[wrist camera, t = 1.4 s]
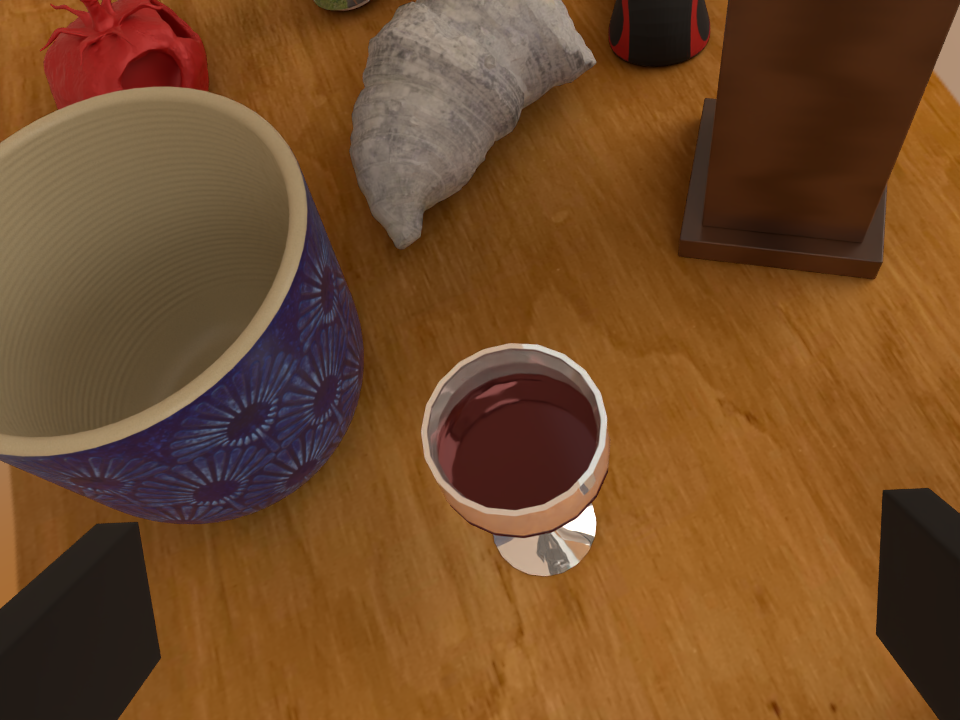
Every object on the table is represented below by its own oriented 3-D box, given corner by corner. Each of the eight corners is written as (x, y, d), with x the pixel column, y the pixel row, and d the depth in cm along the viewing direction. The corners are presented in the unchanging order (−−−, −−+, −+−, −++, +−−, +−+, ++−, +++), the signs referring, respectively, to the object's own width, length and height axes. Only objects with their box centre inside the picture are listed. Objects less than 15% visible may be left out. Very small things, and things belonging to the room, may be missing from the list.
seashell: (399, 278, 49) (348, 162, 40) (324, 110, 56) (268, -20, 47) (654, 167, 50) (659, 30, 41) (549, 15, 57) (534, -130, 48)
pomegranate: (66, 166, 57) (-28, 59, 49) (114, 56, 62) (35, -59, 54) (202, 167, 55) (128, 56, 47) (242, 53, 60) (180, -66, 52)
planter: (282, 628, 41) (110, 539, 27) (37, 476, 47) (-202, 342, 33) (459, 341, 46) (390, 152, 33) (221, 238, 52) (81, 43, 39)
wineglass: (583, 437, 43) (567, 316, 32) (638, 564, 39) (640, 475, 29) (455, 485, 43) (397, 379, 32) (500, 617, 39) (451, 547, 29)
